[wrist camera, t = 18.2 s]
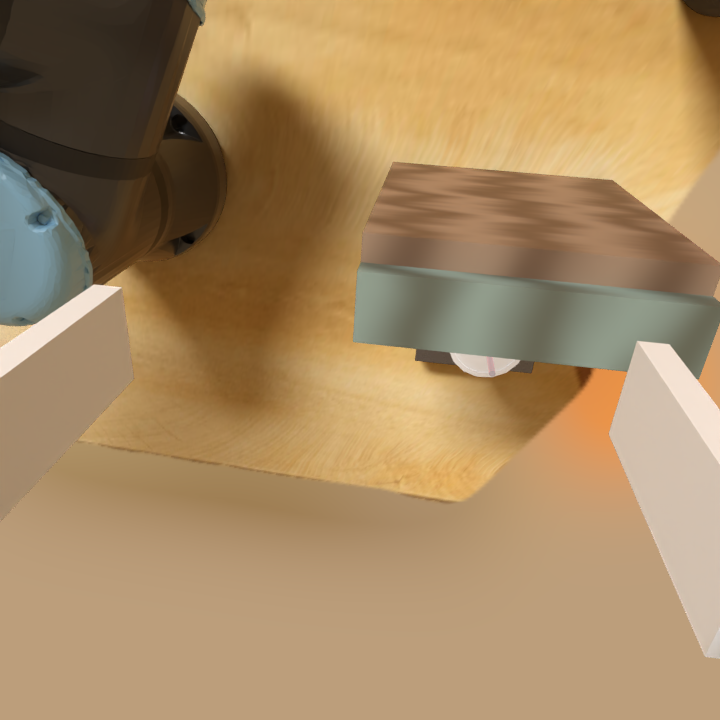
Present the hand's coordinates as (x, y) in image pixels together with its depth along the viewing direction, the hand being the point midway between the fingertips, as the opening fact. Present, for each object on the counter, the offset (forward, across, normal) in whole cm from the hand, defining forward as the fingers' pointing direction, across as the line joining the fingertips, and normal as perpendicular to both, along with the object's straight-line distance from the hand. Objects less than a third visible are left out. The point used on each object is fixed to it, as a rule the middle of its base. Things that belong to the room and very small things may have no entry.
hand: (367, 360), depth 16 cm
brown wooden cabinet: (+39, +7, -4) cm, 40 cm away
